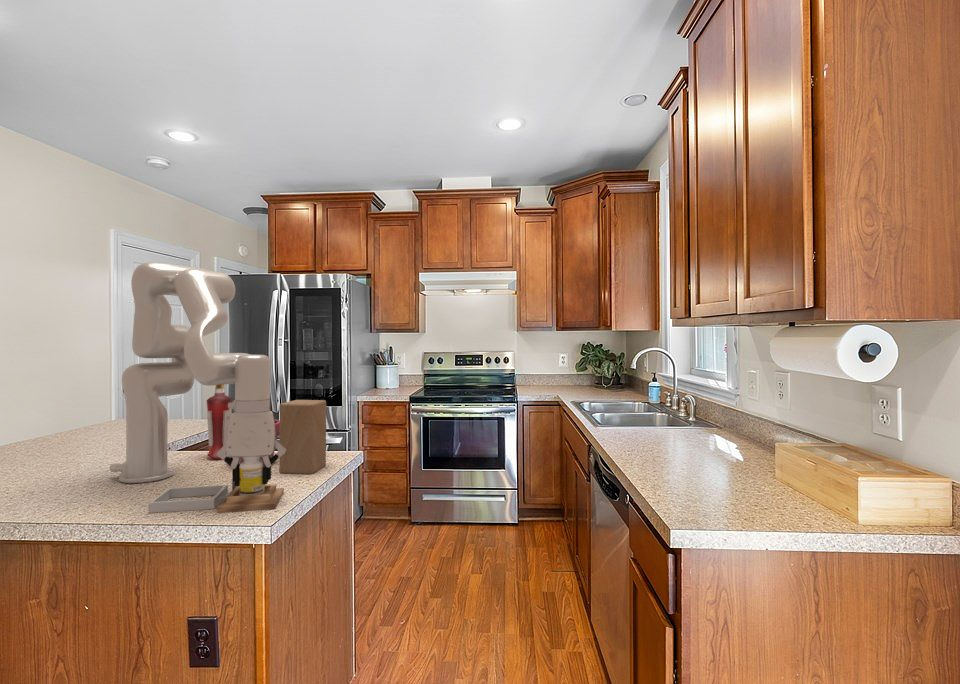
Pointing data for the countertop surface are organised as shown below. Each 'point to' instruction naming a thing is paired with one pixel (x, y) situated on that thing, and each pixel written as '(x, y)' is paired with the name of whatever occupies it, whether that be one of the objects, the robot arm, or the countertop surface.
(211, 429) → the liquor
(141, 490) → the countertop surface
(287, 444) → the wooden block
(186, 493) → the frame
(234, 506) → the brown wooden square tray
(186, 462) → the countertop surface
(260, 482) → the supplement bottle
